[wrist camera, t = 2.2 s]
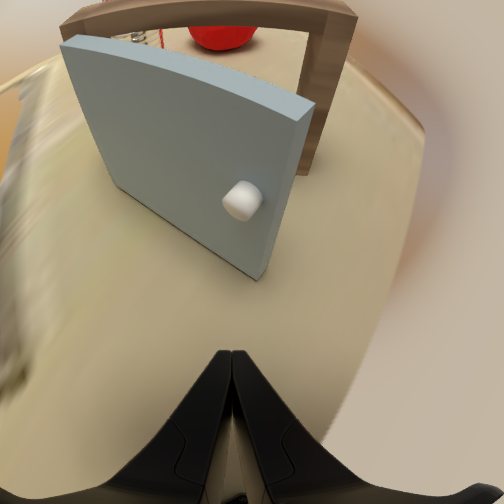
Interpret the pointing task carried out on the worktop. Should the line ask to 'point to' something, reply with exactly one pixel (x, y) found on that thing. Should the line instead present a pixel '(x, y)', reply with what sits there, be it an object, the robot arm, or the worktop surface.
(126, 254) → the worktop surface
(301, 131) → the door
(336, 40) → the cabinet frame
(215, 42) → the tomato
